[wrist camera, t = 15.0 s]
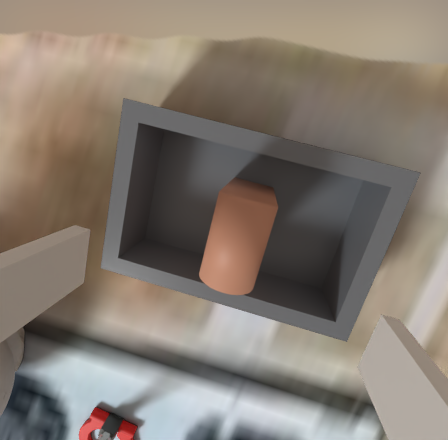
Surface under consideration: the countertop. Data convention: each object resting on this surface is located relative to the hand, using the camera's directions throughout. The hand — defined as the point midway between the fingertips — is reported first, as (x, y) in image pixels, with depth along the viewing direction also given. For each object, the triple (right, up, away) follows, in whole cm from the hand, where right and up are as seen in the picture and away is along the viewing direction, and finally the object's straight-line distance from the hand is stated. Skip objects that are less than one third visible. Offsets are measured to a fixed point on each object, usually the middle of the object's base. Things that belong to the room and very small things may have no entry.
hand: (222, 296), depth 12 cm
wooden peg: (+2, +4, +16) cm, 17 cm away
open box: (+2, +5, +17) cm, 18 cm away
